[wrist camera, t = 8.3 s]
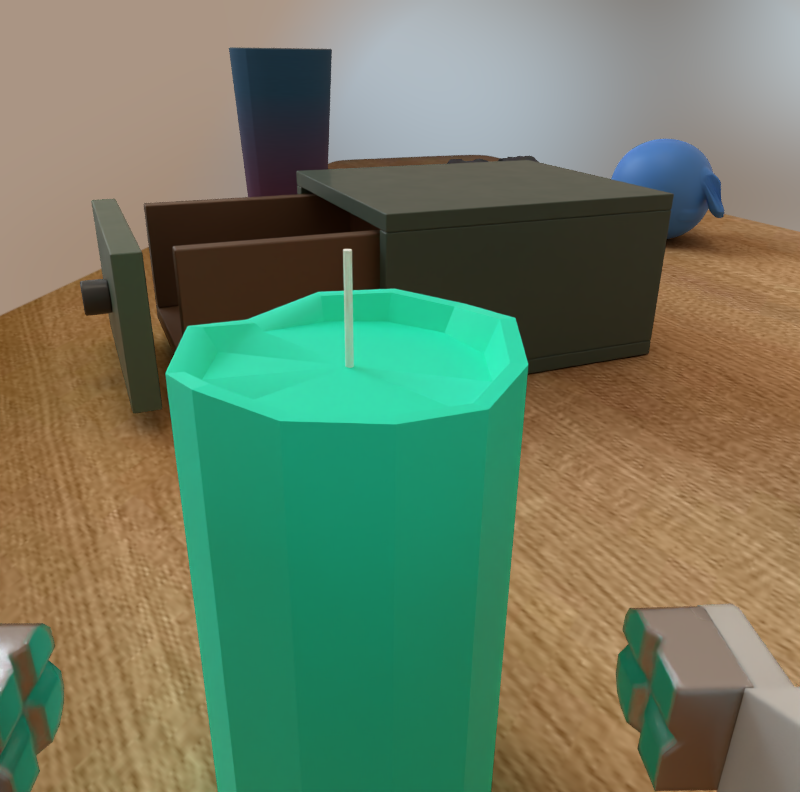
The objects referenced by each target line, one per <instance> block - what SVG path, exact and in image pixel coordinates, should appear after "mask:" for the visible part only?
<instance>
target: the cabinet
mask: <svg viewBox="0 0 800 792" xmlns="http://www.w3.org/2000/svg"><path fill="white" fill-rule="evenodd" d="M296 175H297V185H298V186H297V194H313V193H314V194H315V195H317V196H319V197H321V198H323V199H325V200H327V201H329V202H330V203H332V204H334V205H336V206H338V207H340V208H342V209H343V210H345V211H347V212H349V213H351V214H353V215H355V216H357V217H358V218H360V219H362V220H364V221H366V222H368V223H370V224H372V225H373V226H375V227H377V228H379V229H381V230H380V289H399V290H404V291H409V292H413V293H418V294H423V295H427V296H432V297H437V298H441V299H446V300H451V301H455V302H460V303H464V304H468V305H472V306H475V307H479V308H482V309H486V310H489V311H493V312H496V313H500V314H503V315H507V316H510V317H514V318H516V322H517V326H518V329H519V333H520V336H521V340H522V343H523V347H524V351H525V354H526V358H527V361H528V374H529V373H535V372H541V371H547V370H553V369H559V368H565V367H571V366H577V365H583V364H589V363H595V362H601V361H607V360H613V359H619V358H625V357H631V356H637V355H643V354H648V353H649V348H650V340H651V335H652V329H653V322H654V316H655V310H656V303H657V297H658V291H659V285H660V278H661V272H662V266H663V259H664V253H665V247H666V240H667V234H668V228H669V221H670V215H671V209H672V203H673V197H674V194H673V193H668V192H664V191H660V190H655V189H651V188H647V187H642V186H638V185H634V184H629V183H625V182H621V181H617V180H612V179H608V178H603V177H599V176H595V175H591V174H586V173H582V172H577V171H573V170H569V169H564V168H560V167H556V166H552V165H547V164H543V163H539V162H534V161H530V160H518V161H497V162H475V163H454V164H432V165H411V166H389V167H368V168H346V169H325V170H304V171H297V172H296Z"/></svg>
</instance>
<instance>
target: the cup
mask: <svg viewBox="0 0 800 792" xmlns="http://www.w3.org/2000/svg"><path fill="white" fill-rule="evenodd" d="M229 52H230V60H231V67H232V75H233V83H234V91H235V98H236V106H237V114H238V122H239V129H240V136H241V145H242V153H243V159H244V168H245V176H246V183H247V191H248V197H262V196H279V195H296V194H297V186H298V185H297V175H296V172H297V171H304V170H325V169H328V145H329V115H330V114H329V113H330V84H331V53H332V50H331V49H299V48H298V49H295V48H293V49H292V48H229Z"/></svg>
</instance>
